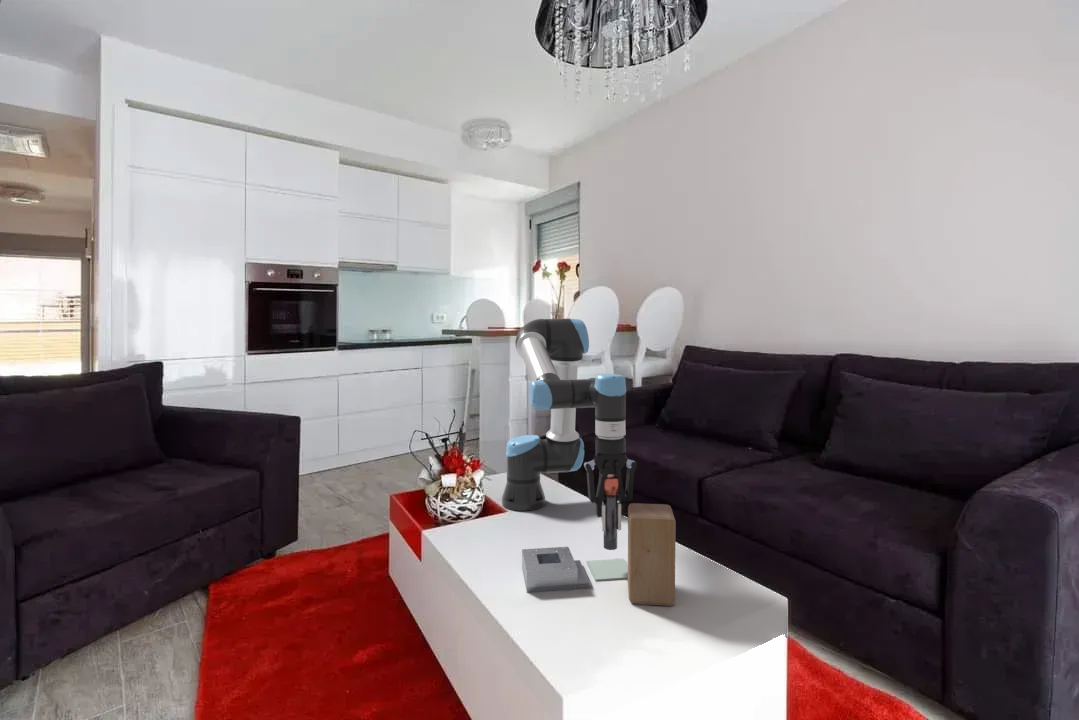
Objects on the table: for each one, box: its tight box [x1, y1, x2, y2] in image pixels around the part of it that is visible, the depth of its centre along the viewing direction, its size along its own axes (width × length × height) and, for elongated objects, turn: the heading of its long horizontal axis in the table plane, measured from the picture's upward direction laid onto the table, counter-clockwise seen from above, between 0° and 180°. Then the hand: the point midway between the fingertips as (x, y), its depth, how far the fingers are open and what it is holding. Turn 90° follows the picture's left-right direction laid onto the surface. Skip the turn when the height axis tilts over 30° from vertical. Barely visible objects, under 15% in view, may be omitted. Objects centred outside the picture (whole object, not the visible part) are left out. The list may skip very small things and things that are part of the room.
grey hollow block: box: [521, 546, 591, 593], centre depth 126 cm, size 12×15×5 cm
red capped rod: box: [603, 473, 619, 551], centre depth 129 cm, size 4×4×18 cm
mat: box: [586, 558, 628, 582], centre depth 130 cm, size 10×10×1 cm
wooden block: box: [627, 502, 677, 607], centre depth 117 cm, size 10×10×20 cm
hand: (610, 528), depth 129 cm, fingers closed on red capped rod, 3 cm apart
